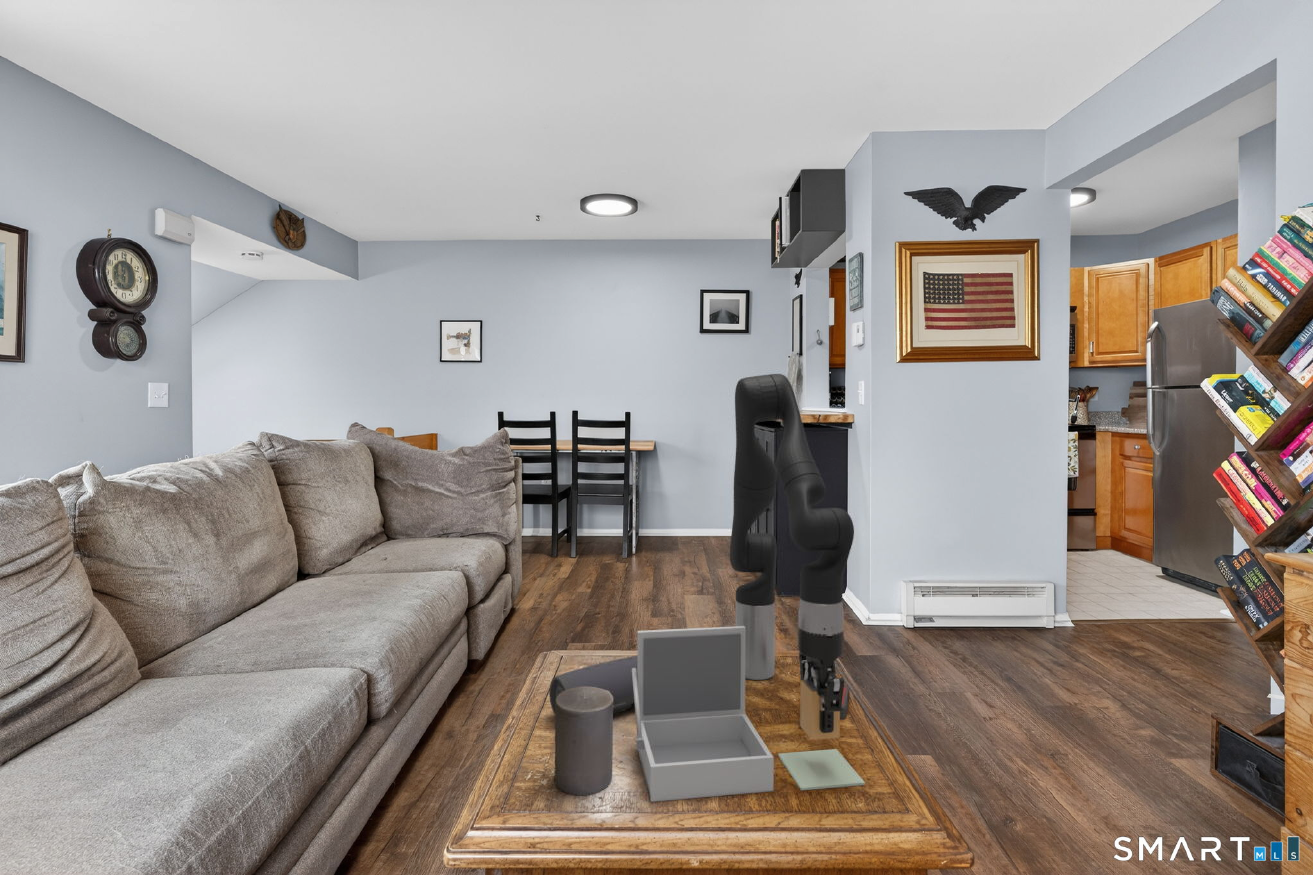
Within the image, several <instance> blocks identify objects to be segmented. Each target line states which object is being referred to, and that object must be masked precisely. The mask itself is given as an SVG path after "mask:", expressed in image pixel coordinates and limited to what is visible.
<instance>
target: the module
mask: <svg viewBox="0 0 1313 875" xmlns="http://www.w3.org/2000/svg"><path fill="white" fill-rule="evenodd" d="M820 689H821V690H822V691H826V688H820ZM799 696H800V697H799V698H800V701H799V702H800V703H799V706H800V707H799V708H800V709H799V711H800V712H799V716H800V717H799V721H800V725H799V727H800V728H801V729H802V730H803V732H804V733H805V734H806V735H807V736H808V738H809V739H810V741H813V740H815V741H817V740H827V739H839V738H841V736H840V733H841V730H840V729H841V725H840V724H841V719H840V711H838V712H837V711H834V730H833V732H831V733H822V732H821V731H820V706H819V696H818V695H817V694H816V689H815V688H814V683H813V682H812V681H811V679H810V680H806V679H803V680H801V679H800V695H799ZM835 701H836V700H835ZM824 702H825V696H824Z"/></svg>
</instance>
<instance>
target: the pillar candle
mask: <svg viewBox="0 0 1313 875" xmlns="http://www.w3.org/2000/svg"><path fill="white" fill-rule="evenodd" d="M613 699H614V698H613V696H612V694H611V693H610V692H609V691H607V690H604V689H600V688H596V687H585V686H584V687H576V688H571V689H568V690H565V691H563V692H562V693H560V694H559V695H558V696H557V698H556V703H555V707H556V708H555V714H554V716H555V718H554V720H555V726H554V731H555V732H554V744H555V745H554V746H555V747H554V784H555V787H557V789H558V790H560V791H561V792H563V793H566V794H568V795H573V796H589V795H593V794H597V793H599V792H601V791H604V790H605V789H606V788H608V787H609V786H610V784H611V782H612V778H613V753H614V752H613V751H614V750H613V749H614V748H613V746H614V745H613V744H614V741H613V740H614V738H613V737H614V736H613V734H614V733H613V732H614V730H613V729H614V725H613V724H614V714H613Z"/></svg>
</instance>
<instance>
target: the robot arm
mask: <svg viewBox="0 0 1313 875" xmlns="http://www.w3.org/2000/svg"><path fill="white" fill-rule="evenodd" d="M796 398H797V397H796V395H795V391H794V389H793V385H792V384H791V382H790V380H789V379H788V377H787V376H786V375H785V374H782V373H770V374H763V375H762V374H761V375H754V376H749V377H743V378H742V377H741V379H739V380H738V381H737V383H736V386H735V390H734V413H735V414H734V415H735V416H734V417H735V418H734V419H735V461H734V462H735V463H734V471H733V516H732V517H733V518H732V524H731V525H732V527H731V528H732V529H731V535H730V541H729V542H730V544H729V562H730V566H731V568H732V569H733V570H734V571H735V572H738V573H754V574H755V573H756V574H757V573H760V575H759V576H758V577H757V578H756V579H753V580H752V581H750V582H747V583H745V584H741V585H739V586H738V587H737V588H736V590H735V626H745V628H746V639H745V680H746V679H747V680H752V681H753V680H754V681H762V680H768V679H770V678H774V676H775V657H776V655H775V654H776V653H775V651H776V650H775V648H776V647H775V646H776V645H775V644H776V641H775V640H776V637H775V636H776V634H775V633H776V625H775V624H776V570H777V552H778V550H777V549H778V548H777V541H776V538H775V536H774V535H773V533H768V532H767V533H765V532H749V531H750V529H751V527H752V526H753V525H754V523H755V522H756V521H757V520H758V519H759V518H760V517H761V516H762V515H763V514H764V513H765V512H766V510H768V508H769V507H770V506H771V505H772V503H773V501H774V499H775V496H776V492H777V481H778V479H779V481H780V484H781V486H782V489H783V492H784V494H785V496H786V501H787V507H788V508H787V509H788V521H789V523H788V524H789V528H788V529H789V535H790V538H791V540H792V542H793V543H794V545H795V546H797V548H799V549H800V550H802V551H805V552H813V551H822V552H821V555H820V557H819V558H818V559H816V560H814V561H811V562H809V563H806V564H804V565H803V566H802V567H801V569H800V574H799V575H800V577H799V582H800V583H799V604H798V614H797V615H798V617H797V618H798V619H797V620H798V621H797V622H798V623H797V626H798V627H797V628H798V629H797V639H798V640H797V649H798V652H799V653H798V656H799V657H798V658H799V659H798V660H799V670H800V671H799V673H800V681H801V680H803V679H806V680H810V679H811V681H812V682H813V683H814V688H815V689H816V694H817V695H818V696H819V706H820V731H821V732H822V733H831V732H833V730H834V711H837V712H838V711H841V706H842V698H843V690H844V685H845V679H844V678H843V677H841V678H840V677H837V668H836V665H835V664H836V663H835V661H836V660H837V659H839V658H840V657H842V656H843V655H844V643H845V642H844V640H845V639H844V638H845V637H844V633H845V630H844V624H845V623H844V622H845V621H844V619H845V616H844V612H845V611H844V608H843V607H844V606H843V605H844V604H843V586H844V585H843V583H844V582H843V579H844V575H845V574H844V573H845V570H846V567H847V563H848V559H849V556H850V554H851V549H852V546H853V542H854V537H855V528H854V526H855V525H854V523H853V522H854V521H853V520H852V518H851V516H850V514H849V513H848V512H847V511H846V510H844V509H843V508H839V507H828V508H827V507H826V508H812V507H813V506H816V505H817V504H820V503H821V502H822V501H823V500H824V499H825V497H826V494H827V489H826V485H825V482H824V480H823V478H822V476H821V473H820V470H819V469H818V467H817V464H816V462H815V460H814V458H813V455H812V453H811V450H810V447H809V443H808V439H807V436H806V432H805V428H804V423H803V420H802V417H801V416H802V415H801V414H800V409H799V405H798V402H797V401H798V400H797V399H796ZM777 420H781V422H782V424H783V436H782V438H781V442H780V445H779V447H778V450H777V451H778V452H777V454H776V460H775V462H774V460H773V459H772V457H771V456H770V454H769V453H768V452H767V450H766V449H765V448H764V447H763V446H762V444H761V443H760V441H759V439H758V438H757V436H756V431H755V426H756V424H757V423H760V422H761V423H762V422H767V421H777ZM820 688H826V691H822V690H821V689H820ZM824 696H825V702H824ZM835 700H836V701H835Z"/></svg>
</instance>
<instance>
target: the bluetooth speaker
mask: <svg viewBox="0 0 1313 875" xmlns="http://www.w3.org/2000/svg"><path fill="white" fill-rule="evenodd" d="M633 668H636V673H637V655H633V656H628V657H623V658H618V659H613V660H610V661H604V662H600V663H595V664H593V665H588V666H584V667H581V668H577V669H574V670H570V671H567V672H563V673H561V674H559V675H556V676H553V678H552V679H551V682H550V686H549V691H548V694H549V695H548V697H549V702H550V707H551V709H552V713H553V714H554V715H555V708H556V707H555V703H556V698H557V696H558V695H559V694H560V693H562V692H563V691H565V690H568V689H571V688H576V687H584V686H585V687H596V688H600V689H604V690H607V691H609V692H610V693H611V694H612V696H613V698H614V699H613V715H614V714H617V713H620V712H624V711H626V710H629V709H630V708H632V705H633V704H635V703H634V691H633V679H632V669H633Z"/></svg>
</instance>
